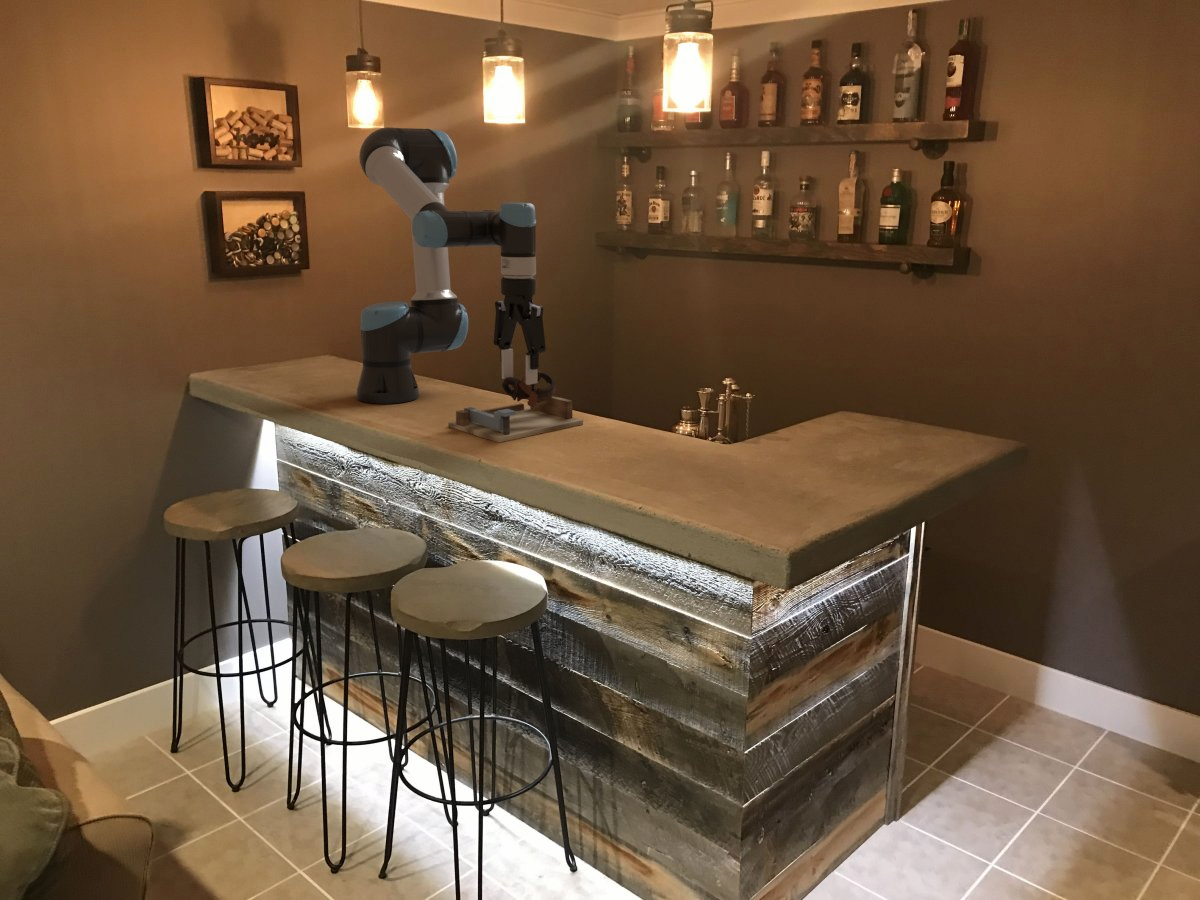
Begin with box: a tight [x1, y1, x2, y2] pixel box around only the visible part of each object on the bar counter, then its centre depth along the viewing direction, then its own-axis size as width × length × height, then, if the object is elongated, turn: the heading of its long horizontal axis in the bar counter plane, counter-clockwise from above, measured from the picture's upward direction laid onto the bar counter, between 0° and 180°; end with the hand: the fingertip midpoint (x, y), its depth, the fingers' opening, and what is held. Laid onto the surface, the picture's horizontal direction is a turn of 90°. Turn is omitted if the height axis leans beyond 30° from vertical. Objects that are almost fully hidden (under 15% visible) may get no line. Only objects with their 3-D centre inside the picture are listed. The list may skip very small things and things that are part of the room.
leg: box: [463, 406, 516, 431], centre depth 209 cm, size 16×3×4 cm, turn 41°
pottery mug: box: [501, 370, 557, 407], centre depth 216 cm, size 12×10×8 cm
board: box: [447, 395, 584, 443], centre depth 216 cm, size 18×24×5 cm
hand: (519, 380), depth 214 cm, fingers closed on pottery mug, 8 cm apart
